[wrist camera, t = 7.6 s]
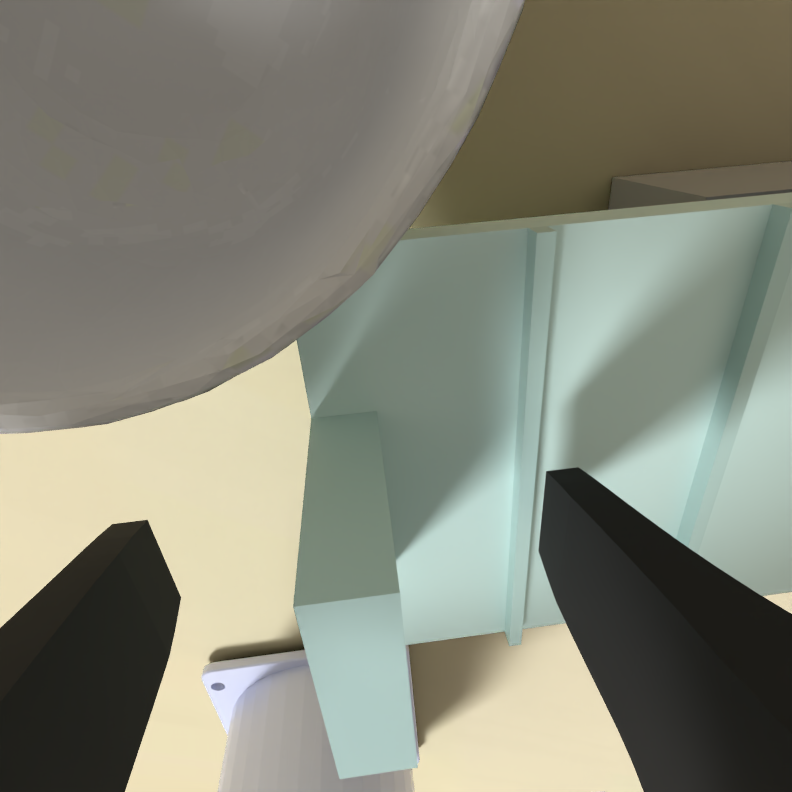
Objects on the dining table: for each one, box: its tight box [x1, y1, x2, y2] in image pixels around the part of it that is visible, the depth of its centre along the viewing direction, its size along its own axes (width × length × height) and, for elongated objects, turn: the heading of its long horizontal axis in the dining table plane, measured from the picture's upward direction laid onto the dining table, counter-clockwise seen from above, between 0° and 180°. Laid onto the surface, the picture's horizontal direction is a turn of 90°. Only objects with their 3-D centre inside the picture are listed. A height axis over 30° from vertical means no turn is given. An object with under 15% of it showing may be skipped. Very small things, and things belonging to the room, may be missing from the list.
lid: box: [293, 192, 792, 779], centre depth 9 cm, size 12×10×5 cm
